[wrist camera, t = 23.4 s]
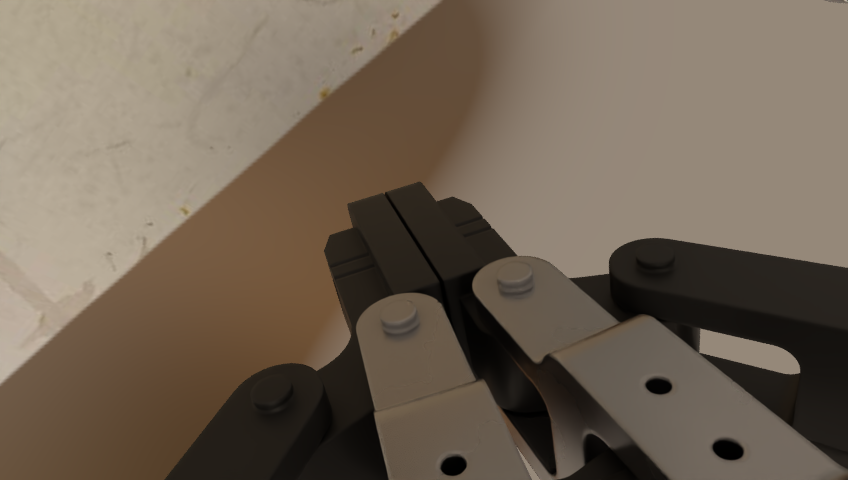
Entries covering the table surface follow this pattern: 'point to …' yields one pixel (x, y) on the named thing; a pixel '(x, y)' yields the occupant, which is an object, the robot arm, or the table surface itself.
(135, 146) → the table surface
